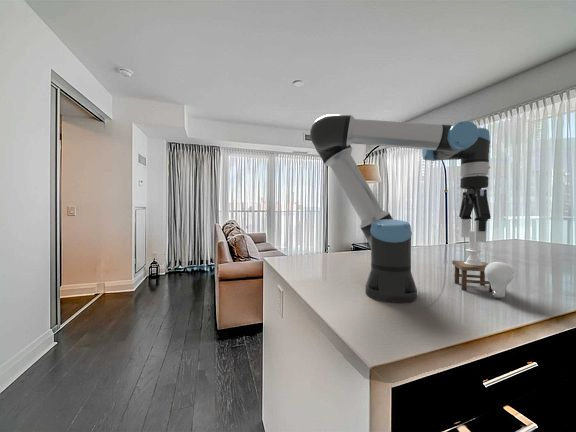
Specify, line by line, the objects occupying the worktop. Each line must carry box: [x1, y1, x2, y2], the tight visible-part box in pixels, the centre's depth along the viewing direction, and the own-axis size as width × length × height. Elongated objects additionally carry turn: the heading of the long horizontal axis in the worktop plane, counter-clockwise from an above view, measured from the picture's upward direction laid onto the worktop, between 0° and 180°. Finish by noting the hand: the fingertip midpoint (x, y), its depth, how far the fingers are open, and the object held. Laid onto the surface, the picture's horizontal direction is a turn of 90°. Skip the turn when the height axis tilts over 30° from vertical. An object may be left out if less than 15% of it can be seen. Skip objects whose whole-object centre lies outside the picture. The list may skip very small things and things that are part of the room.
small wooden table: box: [451, 260, 493, 294], centre depth 84 cm, size 10×10×8 cm
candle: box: [464, 228, 484, 266], centre depth 84 cm, size 5×5×12 cm
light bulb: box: [484, 261, 515, 300], centre depth 73 cm, size 7×7×11 cm
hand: (472, 239), depth 84 cm, fingers open, 13 cm apart
